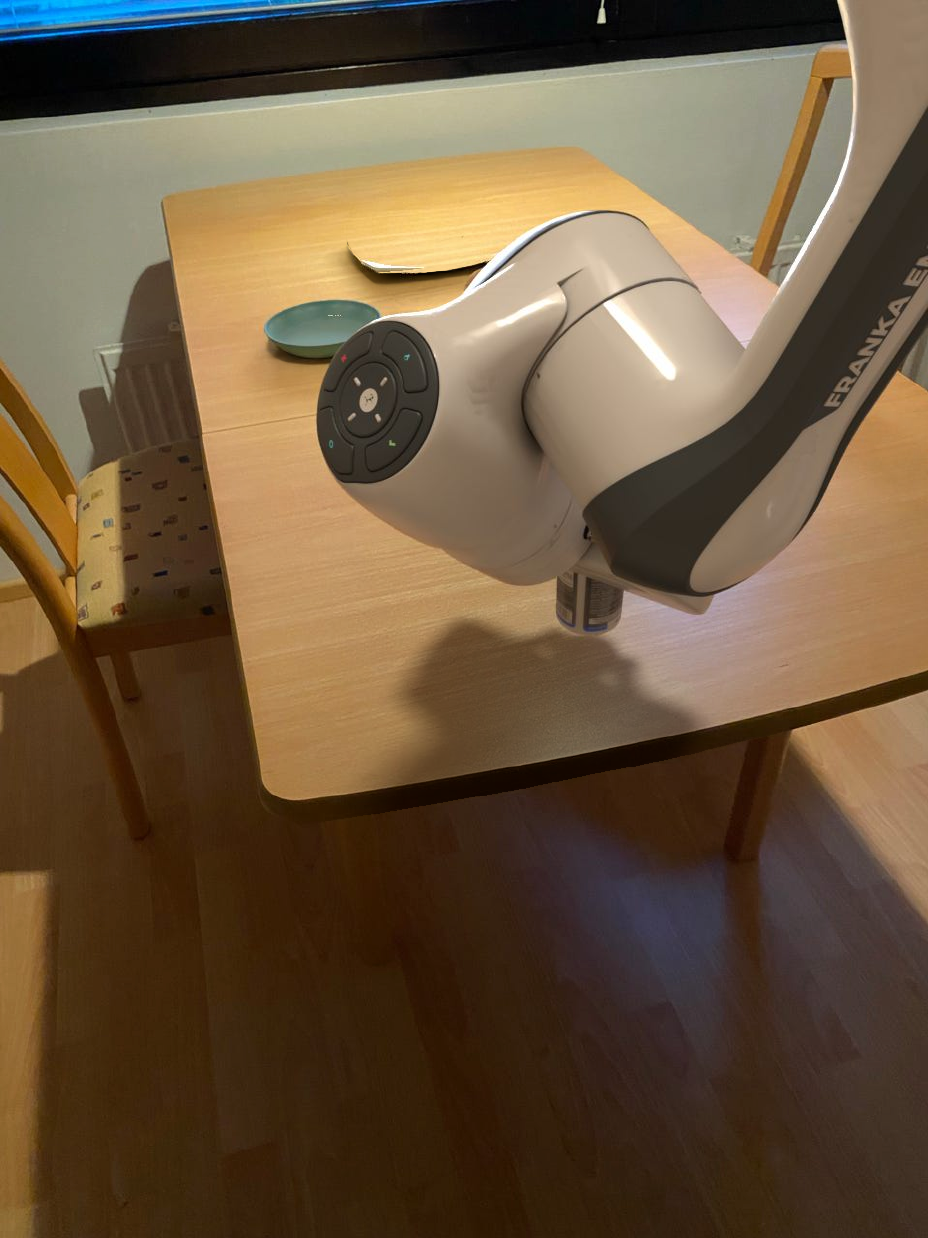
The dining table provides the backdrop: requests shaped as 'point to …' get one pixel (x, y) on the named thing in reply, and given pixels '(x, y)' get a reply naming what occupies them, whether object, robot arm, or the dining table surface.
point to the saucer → (318, 326)
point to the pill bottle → (587, 604)
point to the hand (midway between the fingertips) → (597, 559)
